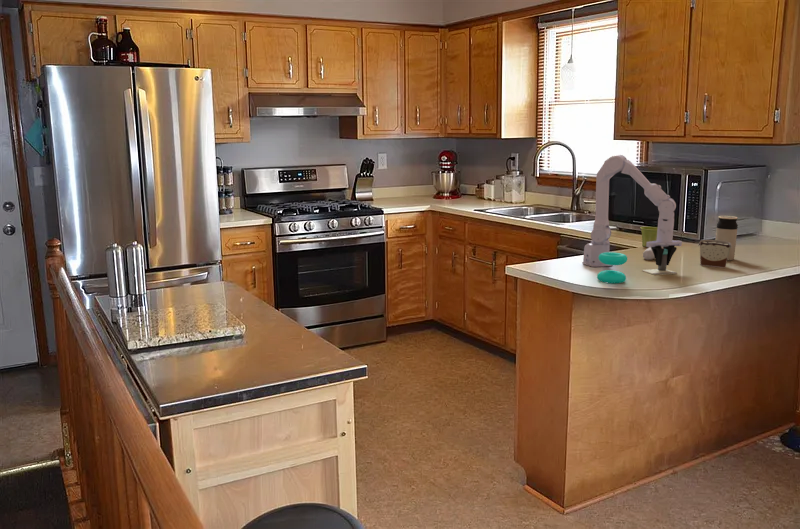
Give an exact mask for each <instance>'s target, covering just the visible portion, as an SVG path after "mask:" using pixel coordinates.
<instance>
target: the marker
mask: <svg viewBox="0 0 800 529" xmlns="http://www.w3.org/2000/svg"><path fill="white" fill-rule="evenodd" d="M667 254H668V250H667V249H664V252H663V255H662V262H661V266H659V265H657V269H658V270H660V271H666V269H667V266H668V265H667Z"/></svg>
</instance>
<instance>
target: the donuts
mask: <svg viewBox="0 0 800 529" xmlns="http://www.w3.org/2000/svg"><path fill="white" fill-rule="evenodd" d="M598 258H599V260H600V262H602V263H604V264H607V265H613V266H621V265H624V264H626V263H627V262H628V256H627V255H626V254H625V253H621V252H614V251H609V252H605V253H601V254H600V255H599V257H598ZM596 278H597V280H598V281H599V280H600V281H599V282H601V281H602V283H605V282H608V283H607V284H621V283H624V282H625V281H626V279H627V276H626V275H625V273H623V272H622V271H619V270H613V269H612V270H611V269H606V270H605V269H604V270H601V271H599V272H598V273H597V275H596Z"/></svg>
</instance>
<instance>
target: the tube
mask: <svg viewBox="0 0 800 529" xmlns="http://www.w3.org/2000/svg"><path fill="white" fill-rule="evenodd" d="M662 249H663V247H662ZM642 258H643V259H644V260H645V261H653V260H654V259H655V256H654V253H653V251H652V249H651V247H647V248H646V249H645V250H644V251H643V252H642Z"/></svg>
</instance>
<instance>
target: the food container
mask: <svg viewBox="0 0 800 529" xmlns="http://www.w3.org/2000/svg"><path fill="white" fill-rule="evenodd" d="M698 247H699V256H700V257H699V258H700V265H699V266H704V267H713V268H721V269H722V268H723V269H725V268H726V266H727V262H728V260H727V259H728V254H729V250H730V248H731V249H732V247H731V243H730V242H727V241H720V240H715V239H701V240H700V241H699V242H698Z"/></svg>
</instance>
